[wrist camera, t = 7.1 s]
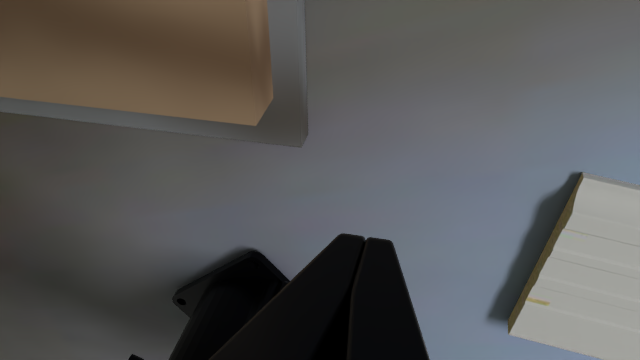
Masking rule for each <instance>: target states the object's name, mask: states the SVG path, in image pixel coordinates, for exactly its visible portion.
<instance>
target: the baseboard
mask: <svg viewBox="0 0 640 360" xmlns="http://www.w3.org/2000/svg"><path fill="white" fill-rule="evenodd" d="M508 335H512V336H516V337H519V338H523V339H527V340H531V341H535V342H539V343H542V344H546V345H550V346H554V347H558V348H561V349H565V350H569V351H573V352H577V353H580V354H584V355H588V356H592V357H596V358H599V359H603V360H640V185H636V184H632V183H628V182H623V181H619V180H614V179H610V178H606V177H601V176H597V175H593V174H588V173H584V172H582V174H581V176H580V178H579V180H578V182H577V184H576V186H575V188H574V190H573V192H572V194H571V196H570V198H569V200H568V202H567V204H566V206H565V208H564V210H563V212H562V214H561V216H560V218H559V220H558V222H557V224H556V226H555V228H554V230H553V232H552V234H551V236H550V238H549V240H548V242H547V244H546V246H545V248H544V250H543V252H542V254H541V256H540V258H539V260H538V262H537V264H536V266H535V267H534V269H533V271H532V273H531V275H530V277H529V279H528V281H527V283H526V285H525V287H524V289H523V291H522V293H521V295H520V297H519V299H518V301H517V303H516V305H515V307H514V309H513V311H512V313H511V315H510V317H509V319H508Z"/></svg>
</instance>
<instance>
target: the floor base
mask: <svg viewBox="0 0 640 360" xmlns="http://www.w3.org/2000/svg"><path fill="white" fill-rule="evenodd" d="M0 112H7V113H16V114H24V115H33V116H41V117H49V118H58V119H66V120H74V121H83V122H91V123H99V124H108V125H116V126H124V127H133V128H141V129H150V130H158V131H166V132H175V133H183V134H191V135H200V136H208V137H216V138H225V139H233V140H241V141H250V142H258V143H267V144H275V145H283V146H292V147H300V148H302V146H303V144H304V142H305V140H306V137H307V135H308V113H307V74H306V36H305V0H0Z"/></svg>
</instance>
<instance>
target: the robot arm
mask: <svg viewBox="0 0 640 360" xmlns="http://www.w3.org/2000/svg"><path fill="white" fill-rule="evenodd" d="M253 261H255V262H257V263H255V262H253ZM172 300H173V302H174V304H175V305H176V306H178V307H179V308H180V309H181V310H182V311H183V312H184V313H185V314H187V315H188V316H189V317H190V320H189V322H188V323H187V325H186V327H185V329H184V331H183V333H182V335H181V337H180V339H179V341H178V342H177V344H176V346H175V348H174V350H173V352H172V354H171V356H170V358H169V360H430V359H429V356H428V352H427V349H426V346H425V343H424V340H423V337H422V333H421V330H420V327H419V324H418V321H417V317H416V314H415V311H414V308H413V305H412V302H411V298H410V295H409V292H408V289H407V286H406V283H405V279H404V276H403V273H402V270H401V267H400V264H399V260H398V257H397V254H396V251H395V248H394V245H393V243H392V241H390V240H386V239H379V238H372V237H369V238H367V240H365V238H364V237H363V236H358V235H351V234H345V233H343V234H340V235H338V236H337V237H336V238H335V239H334V240H333V241H332V242H331V243H330V244H329V245H328V246H327V247H326V248H325V249H324V250H322V251H321V252H320V253H319V254H318V255H317V256H316V257H315V258H314V259H313V260H312V261H311V262H310V263H309V264H308V265H307V266H306V267H305V268H304V269H303V270H302V271H301V272H300V273H298V274H297V275H296V276H295V277H294V278H293V279H292V280H291V281H289V280H288V279H287V278H286V277H285V276H284V275H283V274H282V273H281V272H280V271H279V270H278V269H277V268H276V267H275V266H274V265H273V264H272V263H271V262H270V261H269V260H268V259H267V258H266V257H265V256H264V255H262V254H261V253H259V252H255V251H252V252H249V253H247V254H245V255H243V256H241V257H240V258H238V259H236V260H234V261H232V262H230V263H228V264H226V265H224V266H222V267H221V268H219V269H217V270H215V271H213V272H211V273H209V274H207V275H205V276H204V277H202V278H200V279H198V280H196V281H194V282H192V283H190V284H188V285H186V286H185V287H183V288H181V289H179V290H177V291H176V293H175V294H174V296H173V299H172ZM128 360H144V359H142V358H140V357H138V356H136V355H134V354H132V355H131V356H130V358H129V359H128Z"/></svg>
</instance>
